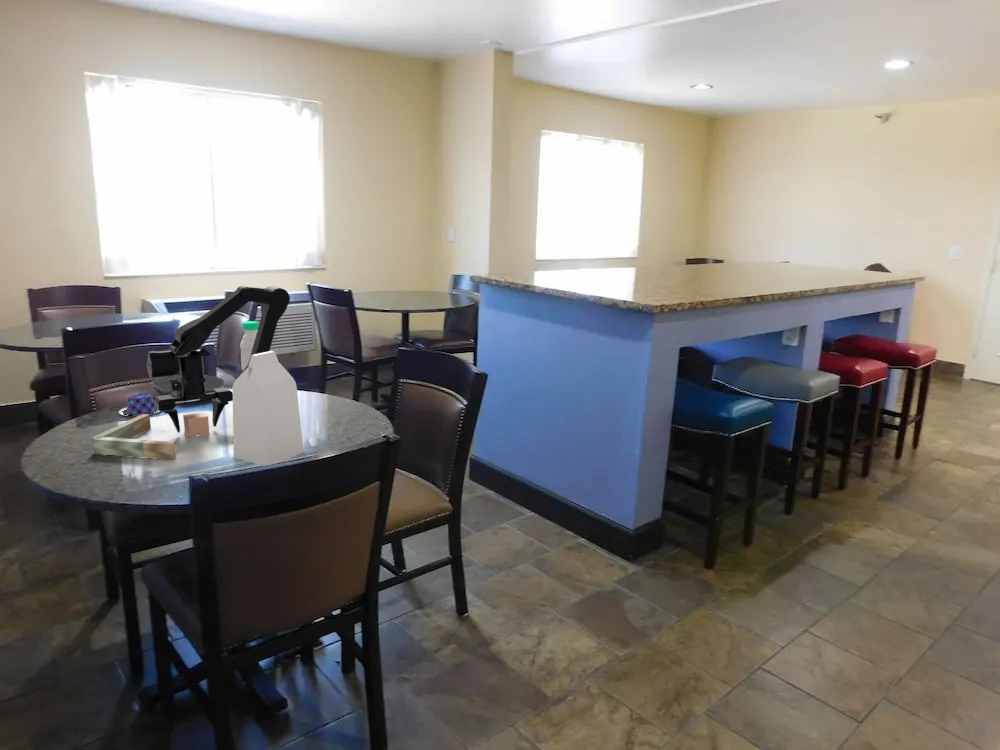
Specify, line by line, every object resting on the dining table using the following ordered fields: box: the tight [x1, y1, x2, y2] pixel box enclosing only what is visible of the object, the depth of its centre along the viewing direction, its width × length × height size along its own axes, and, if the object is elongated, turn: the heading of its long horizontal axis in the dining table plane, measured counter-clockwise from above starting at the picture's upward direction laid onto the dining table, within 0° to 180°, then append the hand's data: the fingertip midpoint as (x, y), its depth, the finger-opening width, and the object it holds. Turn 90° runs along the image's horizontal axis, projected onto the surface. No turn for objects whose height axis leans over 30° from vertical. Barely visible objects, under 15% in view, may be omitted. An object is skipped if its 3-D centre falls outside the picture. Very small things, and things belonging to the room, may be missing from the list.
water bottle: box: [239, 320, 260, 370], centre depth 213 cm, size 7×7×25 cm
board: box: [150, 374, 227, 400], centre depth 218 cm, size 22×22×5 cm
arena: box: [91, 414, 177, 461], centre depth 174 cm, size 21×21×4 cm
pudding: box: [118, 392, 161, 417], centre depth 200 cm, size 12×12×5 cm
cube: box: [182, 411, 210, 438], centre depth 183 cm, size 5×5×5 cm
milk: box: [232, 350, 304, 467], centre depth 166 cm, size 12×12×26 cm
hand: (196, 429), depth 183 cm, fingers open, 9 cm apart
